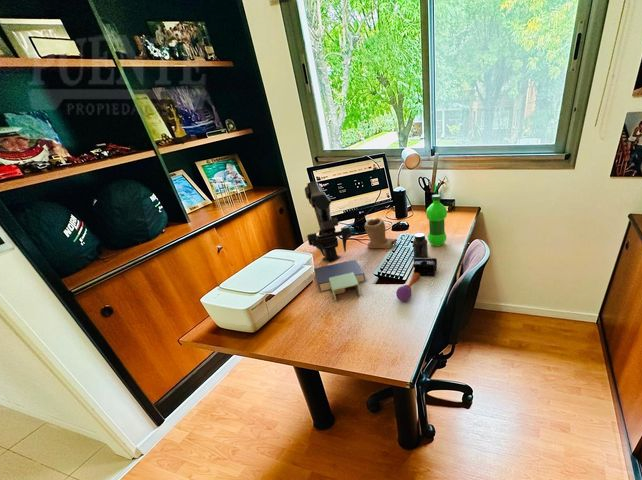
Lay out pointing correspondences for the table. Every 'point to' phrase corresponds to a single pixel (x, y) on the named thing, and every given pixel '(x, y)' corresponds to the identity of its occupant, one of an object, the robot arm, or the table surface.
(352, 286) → the walnut block
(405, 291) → the kendama
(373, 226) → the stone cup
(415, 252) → the supplement bottle
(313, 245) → the robot arm
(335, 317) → the table surface
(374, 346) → the table surface
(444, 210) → the plastic bottle
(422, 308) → the table surface
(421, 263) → the end cap
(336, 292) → the cream block
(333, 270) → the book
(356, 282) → the green arch-shaped block
